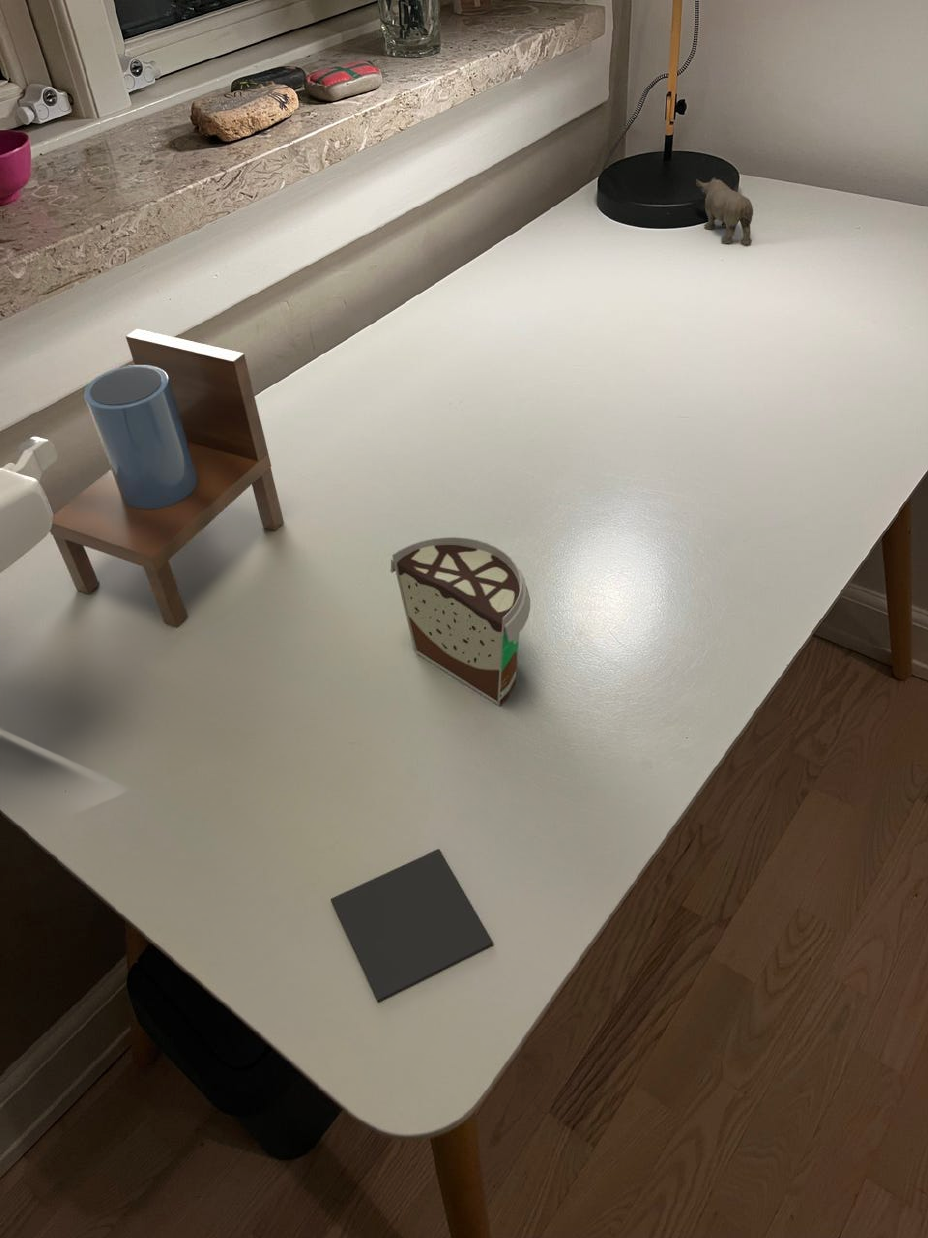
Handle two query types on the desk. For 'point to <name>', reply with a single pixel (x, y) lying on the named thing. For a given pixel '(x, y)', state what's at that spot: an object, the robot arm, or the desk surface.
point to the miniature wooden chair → (223, 457)
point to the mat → (410, 924)
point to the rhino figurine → (727, 209)
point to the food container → (464, 610)
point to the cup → (142, 436)
